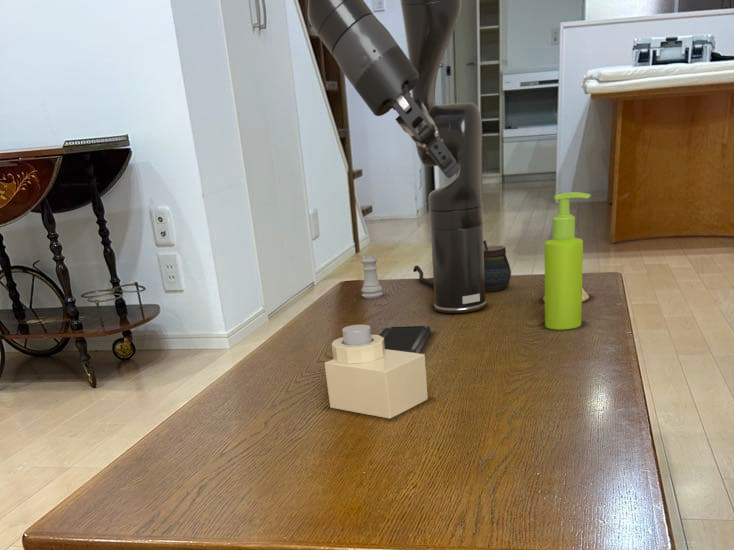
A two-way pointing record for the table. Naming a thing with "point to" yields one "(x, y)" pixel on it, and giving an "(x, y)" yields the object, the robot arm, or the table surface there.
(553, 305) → the soap dispenser
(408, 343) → the phone
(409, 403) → the push button station
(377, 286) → the rook chess piece
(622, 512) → the table surface
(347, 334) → the grey push button
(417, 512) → the table surface
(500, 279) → the mate gourd
